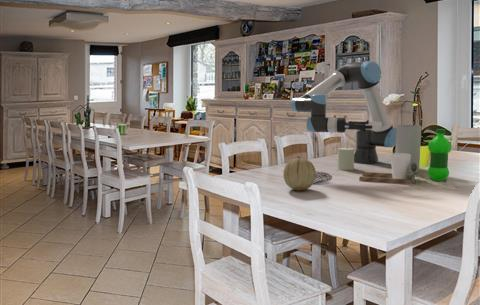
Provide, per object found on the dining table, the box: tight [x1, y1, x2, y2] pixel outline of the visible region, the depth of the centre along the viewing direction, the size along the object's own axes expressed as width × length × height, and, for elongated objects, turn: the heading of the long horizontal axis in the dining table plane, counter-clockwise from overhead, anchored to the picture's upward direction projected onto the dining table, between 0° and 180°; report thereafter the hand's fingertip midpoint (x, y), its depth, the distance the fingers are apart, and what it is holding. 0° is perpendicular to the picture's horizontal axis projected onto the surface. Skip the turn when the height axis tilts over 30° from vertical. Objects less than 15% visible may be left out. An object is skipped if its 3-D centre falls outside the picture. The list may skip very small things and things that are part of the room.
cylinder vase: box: [394, 124, 422, 175], centre depth 244 cm, size 12×12×25 cm
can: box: [336, 147, 355, 171], centre depth 255 cm, size 9×9×12 cm
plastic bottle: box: [427, 128, 453, 182], centre depth 222 cm, size 10×10×25 cm
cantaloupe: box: [283, 156, 317, 192], centre depth 203 cm, size 15×15×15 cm
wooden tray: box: [358, 162, 417, 185], centre depth 224 cm, size 26×14×9 cm, turn 68°
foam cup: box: [390, 152, 411, 179], centre depth 222 cm, size 10×9×13 cm
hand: (380, 125), depth 222 cm, fingers open, 13 cm apart
